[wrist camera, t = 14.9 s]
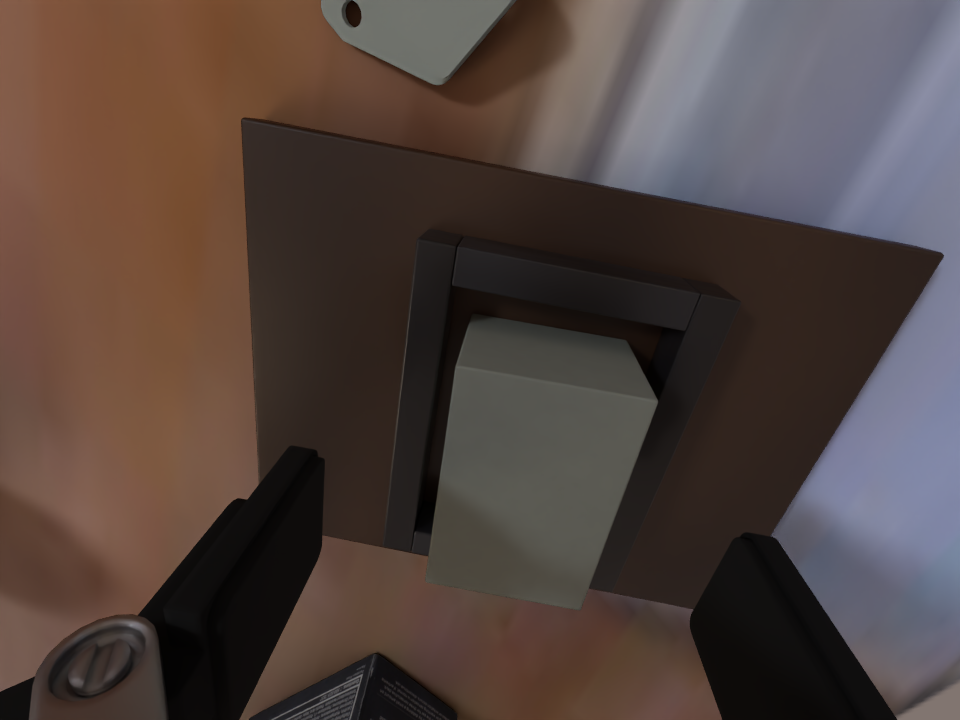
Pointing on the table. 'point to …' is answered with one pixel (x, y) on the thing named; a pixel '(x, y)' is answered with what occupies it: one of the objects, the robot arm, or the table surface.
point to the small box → (362, 697)
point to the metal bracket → (418, 31)
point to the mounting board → (560, 304)
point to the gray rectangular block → (535, 459)
